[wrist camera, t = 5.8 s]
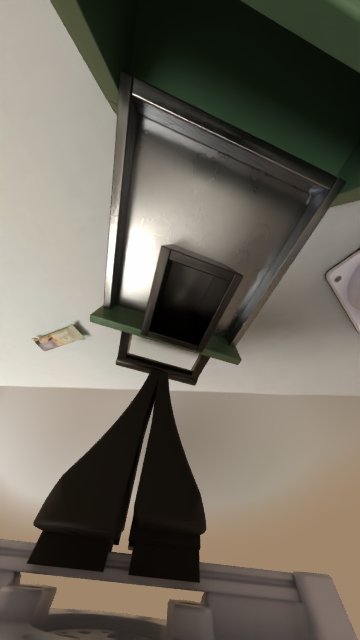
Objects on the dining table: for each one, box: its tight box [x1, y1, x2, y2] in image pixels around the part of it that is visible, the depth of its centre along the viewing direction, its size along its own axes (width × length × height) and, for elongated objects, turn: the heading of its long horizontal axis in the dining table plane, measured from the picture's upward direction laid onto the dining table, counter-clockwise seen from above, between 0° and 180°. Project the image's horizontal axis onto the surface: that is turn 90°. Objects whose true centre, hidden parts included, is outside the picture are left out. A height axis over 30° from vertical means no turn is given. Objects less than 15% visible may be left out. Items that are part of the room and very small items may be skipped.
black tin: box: [140, 244, 244, 353], centre depth 10 cm, size 6×4×5 cm
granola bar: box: [32, 324, 85, 351], centre depth 18 cm, size 7×2×1 cm, turn 111°
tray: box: [90, 70, 346, 385], centre depth 12 cm, size 18×13×4 cm
